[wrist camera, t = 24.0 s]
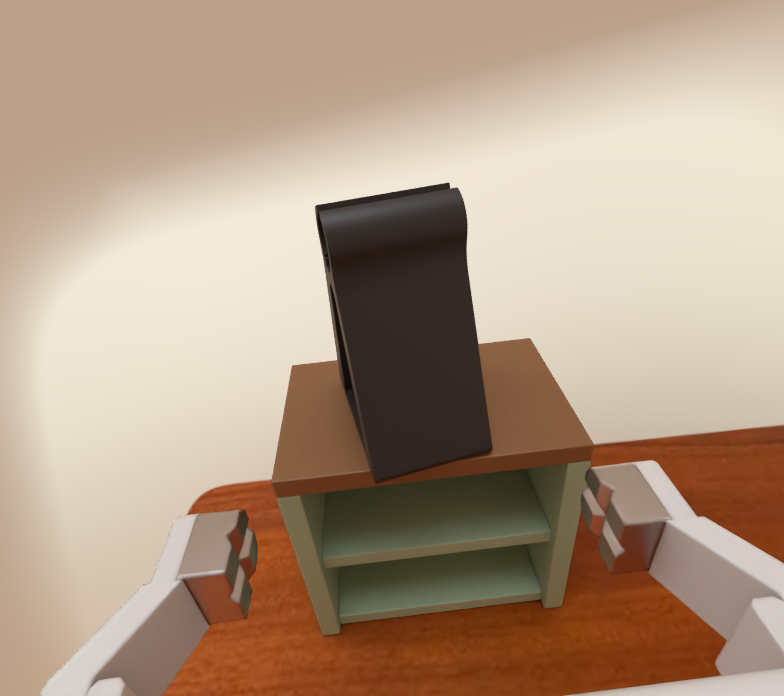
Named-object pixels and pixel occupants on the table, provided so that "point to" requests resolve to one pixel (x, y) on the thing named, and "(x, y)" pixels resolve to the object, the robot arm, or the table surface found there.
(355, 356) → the phone stand
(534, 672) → the table surface
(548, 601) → the shelf
